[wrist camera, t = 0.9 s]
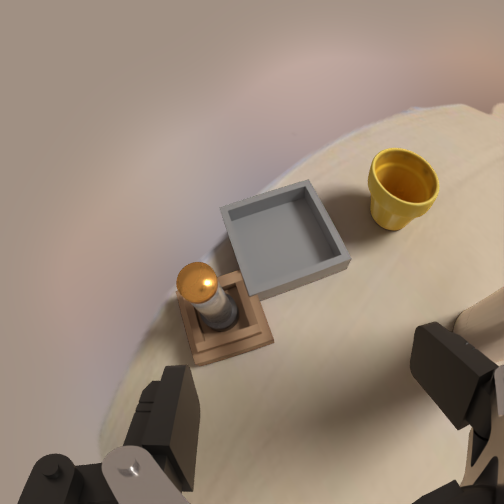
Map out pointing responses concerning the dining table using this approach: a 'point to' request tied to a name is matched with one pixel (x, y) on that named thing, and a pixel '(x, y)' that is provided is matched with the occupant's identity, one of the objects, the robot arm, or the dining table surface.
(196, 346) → the brown square open box
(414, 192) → the plant pot
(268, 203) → the tray
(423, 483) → the dining table surface
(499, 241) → the dining table surface
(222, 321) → the gold-capped glass canister
